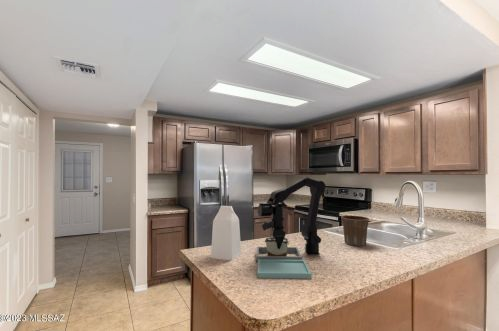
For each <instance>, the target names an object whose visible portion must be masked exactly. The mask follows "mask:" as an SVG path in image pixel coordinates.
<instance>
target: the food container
mask: <svg viewBox="0 0 499 331" xmlns="http://www.w3.org/2000/svg"><path fill="white" fill-rule="evenodd" d="M264 243H266V244H265V245H266V246H265V247H267V253H266V256H287V254H288V253H287V247H288V245H290V243H289V239H288V238H286V237H284V240H283V242H282V245H281V247H280V249H278V248H277V243H276V239H275V238H274V237H273V236H269V237H266V238H265V240H264Z"/></svg>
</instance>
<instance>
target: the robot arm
mask: <svg viewBox="0 0 499 331" xmlns="http://www.w3.org/2000/svg"><path fill="white" fill-rule="evenodd" d="M305 186H306V187H307V188H309V194H310V202H309V205H308V212H307V219H306V221H305V223H302V224H301V228H300V232H301V233H300V235H301V236H302V237H303V239H304V241H305V243H304V252H305V253H306V255H309V256H311V255H314V256H315V255H316V256H318V255H320V254H321V253H320V248H319V244H321V242H322V238H321V237H320V236H319V235H318V228H317V224H316V222H317V218H318V213H319V207H320V203H321V202H320V199H321V197H322V196H323V194H324V193H325V191H326V186H327V185H326V183H325V182H324V181H323V180H316V179H313V178H309V177H308V176H307V177H301V178H300V179H298V180H296V181H294V182H293V183H291V184H289V185H288V186H286V187H283V188H280V189H277V190H274V191H272V192H271V193H270V196H269V198H268V200H267V202H266V203H265V202H259V203H258V205H257V206H258V207H257V210H256V211H257V212H256V213H257V215H258V217H260V218H263V217H264V218H265V217H271V216H272V217H271V219H270V220H267V221H264V222H262V223H261V224H260V225H261V227H262V230H263V231H267V230H269V229H271V232H272V234H271V235H272V237H274V238H275V239H276V243H277V248H278V249H280V247H281V245H282V242H283V240H284V238H286V230H285V225H284V220H285V219H284V208H286V207H287V208H288V205H287V204H286V203H285V201H286V200H287V198H289V197H290V195H292V194H293V193H296V192H297V191H299V190H301V189H302V188H304V187H305Z"/></svg>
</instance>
